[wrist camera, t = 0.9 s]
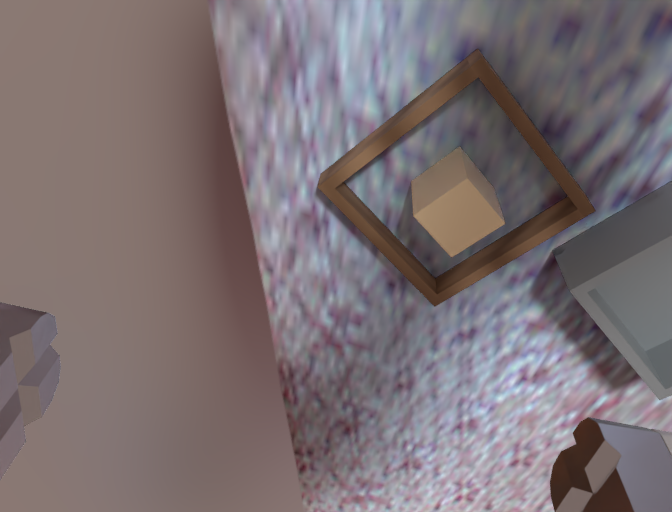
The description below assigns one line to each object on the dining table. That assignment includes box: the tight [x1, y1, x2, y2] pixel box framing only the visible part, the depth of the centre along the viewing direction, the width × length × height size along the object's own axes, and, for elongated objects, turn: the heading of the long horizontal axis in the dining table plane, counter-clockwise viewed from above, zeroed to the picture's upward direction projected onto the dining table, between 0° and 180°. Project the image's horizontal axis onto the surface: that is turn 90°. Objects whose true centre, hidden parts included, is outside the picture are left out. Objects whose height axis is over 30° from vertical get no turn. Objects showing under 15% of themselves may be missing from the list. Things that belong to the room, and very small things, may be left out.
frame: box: [318, 49, 595, 306], centre depth 48 cm, size 16×16×2 cm
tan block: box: [411, 146, 505, 258], centre depth 46 cm, size 5×5×6 cm
